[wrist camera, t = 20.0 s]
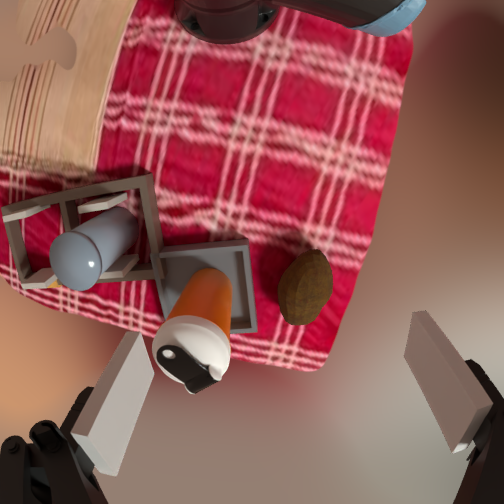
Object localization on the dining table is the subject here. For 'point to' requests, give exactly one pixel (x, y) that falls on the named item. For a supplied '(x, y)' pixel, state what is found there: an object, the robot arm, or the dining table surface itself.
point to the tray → (217, 257)
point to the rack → (121, 267)
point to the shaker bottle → (197, 332)
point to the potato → (305, 288)
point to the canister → (92, 247)
